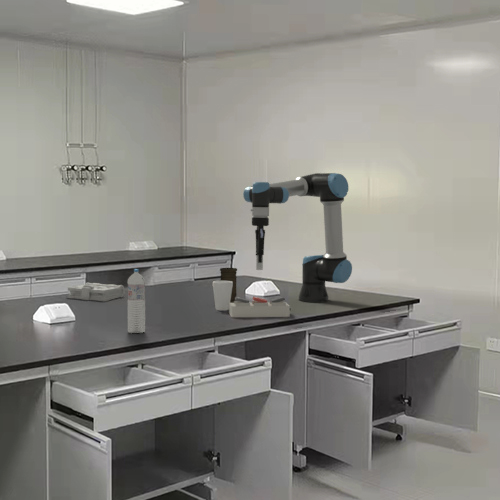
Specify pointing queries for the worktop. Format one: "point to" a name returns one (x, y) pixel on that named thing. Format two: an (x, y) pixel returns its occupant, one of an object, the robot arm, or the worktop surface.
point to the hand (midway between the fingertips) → (259, 269)
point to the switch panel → (259, 309)
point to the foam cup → (222, 294)
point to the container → (230, 279)
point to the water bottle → (136, 303)
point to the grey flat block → (96, 291)
